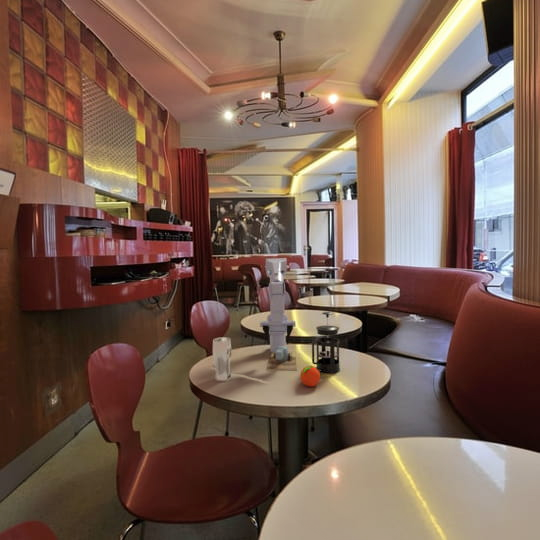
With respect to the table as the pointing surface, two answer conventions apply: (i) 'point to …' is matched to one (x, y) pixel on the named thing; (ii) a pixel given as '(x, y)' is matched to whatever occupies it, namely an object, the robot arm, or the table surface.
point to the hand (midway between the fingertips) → (278, 343)
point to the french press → (327, 356)
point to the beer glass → (222, 358)
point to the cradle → (281, 364)
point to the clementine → (310, 376)
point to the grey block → (282, 353)
